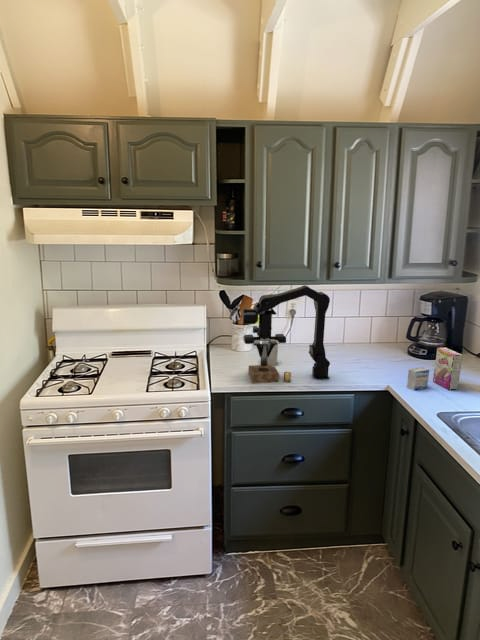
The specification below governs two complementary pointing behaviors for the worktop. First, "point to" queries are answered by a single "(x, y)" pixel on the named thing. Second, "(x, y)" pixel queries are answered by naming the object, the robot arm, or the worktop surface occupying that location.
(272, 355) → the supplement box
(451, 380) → the candy bar box
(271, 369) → the hole block
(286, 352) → the worktop surface
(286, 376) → the short pin
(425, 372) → the medicine box
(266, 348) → the long pin
